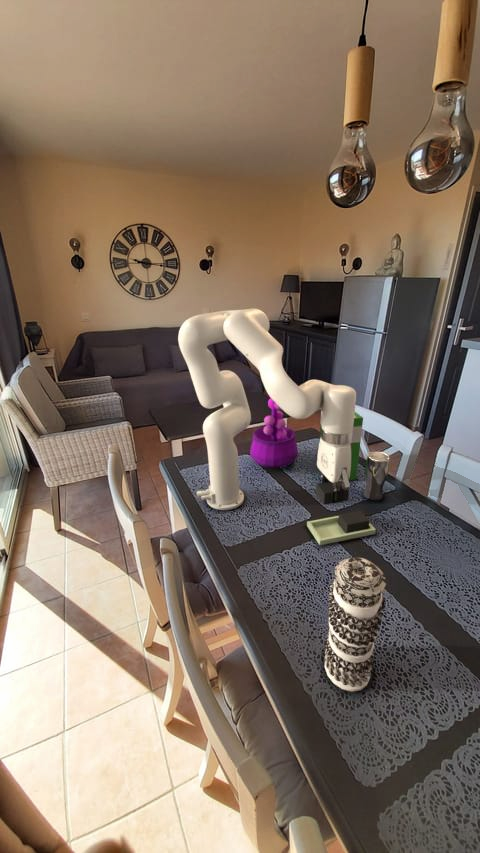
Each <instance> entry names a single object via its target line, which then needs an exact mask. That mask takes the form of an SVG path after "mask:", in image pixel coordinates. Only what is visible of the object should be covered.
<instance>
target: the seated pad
mask: <svg viewBox="0 0 480 853" xmlns="http://www.w3.org/2000/svg"><path fill="white" fill-rule="evenodd" d="M338 516H339V519H338V525H339V526H340V527H341V528H342V530H343V531H344V532H345V533H351V532H356V531H361V530H366V529H368V528H369V523H370V519H369V518H368V517H367V516H366V515H365V514H364V513H363V512H362V511H361V510H354V511H350V512H345V513H344V512H343V513H339V514H338Z"/></svg>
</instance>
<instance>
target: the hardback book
mask: <svg viewBox="0 0 480 853" xmlns="http://www.w3.org/2000/svg"><path fill="white" fill-rule="evenodd" d="M320 410H321V411H320V423H319V424H320V425H319V441H318V443H319V442H320V438H321V432H322V415H323V410H322V409H320ZM363 424H364V417H363V416H361V415H360V414H359V413H358V412H356V411H355V414H354V424H353V434H352V443H351V444H350V445H351V471H350V477H349V480H348V481H353V480H357V475H358V467H359V458H360V450H361V440H362V432H363ZM340 478H341V477H340Z"/></svg>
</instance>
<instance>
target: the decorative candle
mask: <svg viewBox="0 0 480 853" xmlns="http://www.w3.org/2000/svg"><path fill="white" fill-rule="evenodd" d="M334 577H335V578H333V579H332V584H330V585H329V590H330V591H329V593H328V604H329V607H328V612H327V616H328V626H329V630H328V632H327V634H326V635H327V637H326V640H325V642H326V644H325V652H324V669H325V672H326V675H327V677H328V678H329V679H330V681H331V682H332V683H333V684H334V685H335V686H336V687H339V689H341V690H344V691H348V692H357V691H361V690H363V689H364V688H365V687H367V686H368V684H369V682H370V679H371V676H372V672H371V671H372V670H373V666H372V665H373V663H374V658H375V642H376V639H377V637H378V634H379V631H380V629H381V626H379V625H381V624H382V622H383V619H382V617H384V615H385V614H384V611H383V610H385V609H386V607H387V604H386V598H385V597H384V595H383V591H384V589H385V587H386V585H387V581H386V575H385V574H384V572H383V571H382V570H381V568H379V567H378V566H377V565H375V563H373V562H372V561H370V560H368V559H366V558H363V557H357V556H356V557H355V556H354V557H349V558H344V559H343V560H341V561H339V562H338V563H337V564H336V566H335V567H334Z"/></svg>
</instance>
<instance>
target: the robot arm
mask: <svg viewBox="0 0 480 853" xmlns="http://www.w3.org/2000/svg"><path fill="white" fill-rule="evenodd" d="M269 330H270V319H269V317H268V316H267V315H266V313H265V312H263V311H262V310H261V309H259V308H246V309H245V308H244V309H233V310H232V309H231V310H219V311H213V312H206V313H201V314H197V315H194V316H191V317H189V318H188V319H186V320H185V321H184V322H183V323H182V324H181V326H180V328H179V330H178V336H177V341H178V347H179V351H180V352H181V354H182V357H183V359H184V361H185V363H186V365H187V368H188V371H189V374H190V379H191V381H192V384H193V387H194V391H195V393H196V397H197V399H198V401H199V404H200V405H201V406H202V407H203V408H205V409H210V410H211V409H214V408H217V407H220V406H223V407H222V408H219V409H218V410H216V411H214V412H212V413H211V414H209V415H208V416H207V417H206V418H205V420H204V421H203V424H202V433H203V437H204V439H205V444H206V448H207V460H208V472H209V485H208V488H207V489H205V490H197V491H196V497H197V498H200V499H201V501H206V503H207V504H208V506H209V507H211V508H213V509H215V510H219V511H229V510H234V509H236V508H239V506H241V505H242V504H243V503H244V501H245V493H244V492H243V490H241V489H240V473H239V451H238V447H237V445H236V443H235V441H234V438H235V437H236V436H238V435H239V434H240V433H241V432H243V431H245V430H246V429H247V428H248V427H249V426H250V424H251V421H252V413H251V410H250V406H249V402H248V398H247V396H246V391H245V389H244V385H243V382H242V380H241V378H240V377H239V376H238V375H237V373H235V372H233V371H232V370H227V369H226V370H220V369H219V366H218V362H217V359H216V358H215V356H214V354H213V353H212V352H211V350H210V349H209V348H208V346H210V345H213V344H217V343H220V342H225V341H229V342H230V343H231V344H232V345H234V347H235V348H236V349H237V350H238V351H239V352H240V353H241V354H242V355H243V356H245V358H246V359H247V360H248V361H249V362H250V363H251V364H252V365H253V366H254V367H255V368H256V369H257V370H258V372H259V374H260V379H261V382H262V384H263V387H264V389H265V391H266V393H267V395H268V396H270V397H271V398H272V400H273V401H274V402H275V403H276V404H277V405H278V406H279V407H280V408H281V410H282V411H283V412H284V413H286V415H288V416H289V417H291V418H293V419H297V420H305V419H307V418H309V417H311V416H312V415H313V414H314V413H316V412H317V411H320V410H321V409H322V410H323V415H322V432H321V438H320V437H319V438H320V442H319V441H318V448H317V449H318V450H317V456H316V457H317V458H316V466H317V469H318V470H319V471H320V472H321V475H320V476H321V483H324V482H330V481H331V482H332V483H333V490H332V493H331V504H333V505H334V504H340V503H343V502H344V501H343V494H344V490H345V489H347V488H348V489H350V487H351V484H350V480H349V477H350V471H351V445H350V444H351V443H352V434H353V424H354V414H355V412H356V402H357V392H356V390H355V388H353V387H351V386H349V385H344V384H333V383H328V382H326V381H323V380H319V379H310V380H307V381H305V382H304V383H301V384H300V385H298V384H297V383H296V382H295V381H293V380H292V378H291V377H290V376H289V375H288V374H287V372H286V371H285V368H284V366H283V359H282V358H283V354H284V347H283V346H282V345H283V344H281V343H280V342H279V341H278V340H277V339H276V338H275V337H274V336H272V335H271V334H270V333H269ZM270 397H269V398H270ZM340 477H341V478H340ZM337 482H341V485H338V486H337Z"/></svg>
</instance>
